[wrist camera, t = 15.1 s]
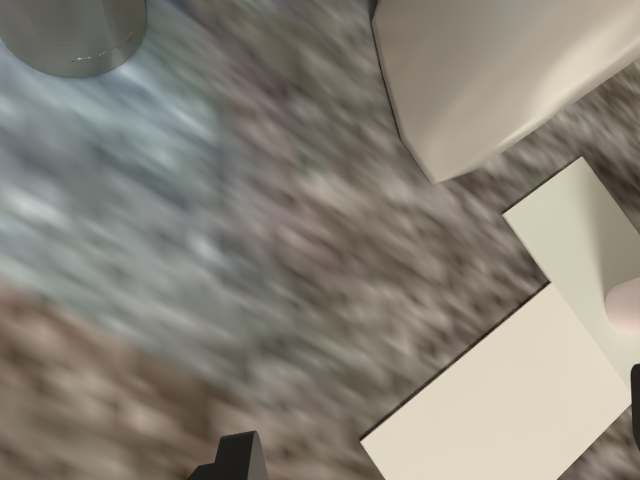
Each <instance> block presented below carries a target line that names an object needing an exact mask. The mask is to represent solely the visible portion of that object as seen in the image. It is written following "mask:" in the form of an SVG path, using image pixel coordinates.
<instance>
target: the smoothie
mask: <svg viewBox="0 0 640 480" xmlns="http://www.w3.org/2000/svg"><path fill="white" fill-rule="evenodd" d="M605 311H606V314H607V317H608V319H609V321H610V322H611V324H612V325H613V326H614V327H615V328H616V329H617V330H619V331H620V332H622V333H625V334H634V335H640V277H637V278H635V279H632V280H629V281H627V282H624V283H621V284H619V285H616V286H614V287H612V288H611V289H610V290H609V292H608V293H607V296H606V299H605Z"/></svg>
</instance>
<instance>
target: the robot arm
mask: <svg viewBox="0 0 640 480" xmlns="http://www.w3.org/2000/svg"><path fill="white" fill-rule="evenodd" d="M146 21H147V16H146V8H145V0H0V37H1V38H2V40H3V41H4V43H5V44H6V46H7V48H8V49H9V50H10V51H11V52H12V53H13V54H14V55H15V56H16V57H17V58H18V59H20V60H21V61H23V62H24V63H26V64H28V65H29V66H31V67H32V68H34V69H37V70H39V71H42V72H44V73H47V74H50V75H55V76H60V77H66V78H84V77H91V76H97V75H100V74H103V73H106V72H109V71H111V70H113V69H115V68H116V67H118V66H120V65H122V64H123V63H125V62H126V61H127V60H128V59H129V58H130V57H131V56H132V55H133V54H134V53H135V51H136V50H137V48H138V47H139V45H140V44H141V42H142V39H143V37H144V34H145V31H146ZM630 381H631V402H632V424H633V434H634V438H635V441H636V444H637V446H638V449H639V450H640V363H639V364H635V365H634V366H633V367H632V369H631V373H630ZM187 480H269V479H268V474H267V470H266V465H265V461H264V456H263V452H262V447H261V443H260V438H259V435H258V433H257V431H250V432H244V433H239V434H233V435H227V436H222V437H221V439H220V442H219V446H218V451H217V455H216V459H215V463H211V464H206V465H200V466H198V467H197V468H196V469H195V471H194V472H193V473H192V474H191V476H190V477H189V478H188V479H187Z"/></svg>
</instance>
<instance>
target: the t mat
mask: <svg viewBox="0 0 640 480" xmlns="http://www.w3.org/2000/svg"><path fill="white" fill-rule="evenodd" d="M502 215H503V217H504V218H505V220H506V221H507V222H508V224H509V225H510V227H511V228H512V229H513V231H514V232H515V234H516V235H517V236H518V238H519V239H520V241H521V242H522V243H523V245H524V246H525V248H526V249H527V250H528V252H529V253H530V255H531V256H532V257H533V259H534V260H535V262H536V263H537V264H538V266H539V267H540V269H541V270H542V271H543V273H544V274H545V276H546V277H547V278H548V280H549V281H550V283H549V284H548V285H547V286H546V287H545V288H543V289H542V290H541V291H540V292H539V293H537V294H536V295H535V296H534V297H533V298H531V299H530V300H529V301H528V302H527V303H525V304H524V305H523V306H522V307H521V308H519V309H518V310H517V311H516V312H515V313H513V314H512V315H511V316H510V317H509V318H507V319H506V320H505V321H504V322H503V323H501V324H500V325H499V326H498V327H497V328H495V329H494V330H493V331H492V332H491V333H489V334H488V335H487V336H486V337H485V338H483V339H482V340H481V341H480V342H479V343H477V344H476V345H475V346H474V347H473V348H471V349H470V350H469V351H468V352H467V353H465V354H464V355H463V356H462V357H461V358H459V359H458V360H457V361H456V362H455V363H453V364H452V365H451V366H450V367H449V368H447V369H446V370H445V371H444V372H443V373H441V374H440V375H439V376H438V377H437V378H435V379H434V380H433V381H432V382H431V383H429V384H428V385H427V386H426V387H425V388H423V389H422V390H421V391H420V392H419V393H417V394H416V395H415V396H414V397H413V398H411V399H410V400H409V401H408V402H407V403H405V404H404V405H403V406H402V407H401V408H399V409H398V410H397V411H396V412H395V413H393V414H392V415H391V416H390V417H389V418H387V419H386V420H385V421H384V422H383V423H381V424H380V425H379V426H378V427H377V428H375V429H374V430H373V431H372V432H371V433H369V434H368V435H367V436H366V437H365V438H363V439H362V440H361V441H360V443H361V444H362V446H363V447H364V449H365V450H366V452H367V453H368V455H369V456H370V458H371V459H372V461H373V462H374V463H375V465H376V466H377V468H378V469H379V471H380V472H381V474H382V475H383V477H384V478H385V480H556V479H557V478H558V477H559V476H560V475H561V474H562V473H563V472H564V471H565V470H566V469H567V468H568V467H569V466H570V465H571V464H572V463H573V462H574V461H575V460H576V459H577V458H578V457H579V456H580V455H581V454H582V453H583V452H584V451H585V450H586V449H587V448H588V447H589V446H590V445H591V444H592V443H593V442H594V441H595V440H596V439H597V438H598V437H599V436H600V435H601V434H602V433H603V431H604V430H605V429H606V428H607V427H608V426H609V425H610V424H611V423H612V422H613V421H614V420H615V419H616V418H617V417H618V416H619V415H620V414H621V413H622V412H623V411H624V410H625V409H626V408H627V407H628V406H629V405H630V404H631V403H632V402H631V381H630V373H631V369H632V367H633V366H634V365H635V364H639V363H640V335H634V334H625V333H622V332H620V331H619V330H617V329H616V328H615V327H614V326H613V325H612V324H611V322H610V321H609V319H608V317H607V314H606V311H605V299H606V296H607V293H608V292H609V290H610V289H611V288H612V287H614V286H616V285H619V284H621V283H624V282H627V281H629V280H632V279H635V278H637V277H640V235H639V233H638V232H637V230H636V229H635V228H634V226H633V225H632V224H631V222H630V221H629V220H628V218H627V217H626V215H625V214H624V213H623V211H622V210H621V209H620V207H619V206H618V204H617V203H616V202H615V200H614V199H613V198H612V196H611V195H610V194H609V192H608V191H607V189H606V188H605V187H604V185H603V184H602V183H601V181H600V180H599V179H598V177H597V176H596V174H595V173H594V172H593V170H592V169H591V168H590V166H589V165H588V164H587V162H586V161H585V159H584V158H583V157H582V156H581V157H580V158H578V159H577V160H576V161H574V162H573V163H572V164H570V165H569V166H568V167H566V168H565V169H563V170H562V171H561V172H559V173H558V174H557V175H555V176H554V177H553V178H551V179H550V180H549V181H547V182H546V183H544V184H543V185H542V186H540V187H539V188H538V189H536V190H535V191H534V192H532V193H531V194H530V195H528V196H527V197H526V198H524V199H523V200H521V201H520V202H519V203H517V204H516V205H515V206H513V207H512V208H511V209H509V210H508V211H507V212H505V213H504V214H502Z"/></svg>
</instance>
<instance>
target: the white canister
mask: <svg viewBox="0 0 640 480" xmlns="http://www.w3.org/2000/svg"><path fill="white" fill-rule="evenodd" d="M372 27H373V32H374V36H375V41H376V46H377V50H378V55H379V60H380V64H381V69H382V74H383V77H384V81H385V84H386V88H387V91H388V95H389V98H390V102H391V106H392V109H393V113H394V116H395V120H396V123H397V127H398V130H399V134H400V137H401V141H402V142H403V144H404V145H405V147H406V148H407V149H408V151H409V152H410V154H411V155H412V157H413V158H414V160H415V161H416V162H417V164H418V165H419V167H420V168H421V170H422V171H423V173H424V174H425V176H426V177H427V178H428V180H429V181H430V183H431V184H432V186H433V185H436V184H439V183H441V182H444V181H447V180H450V179H453V178H455V177H458V176H461V175H464V174H467V173H470V172H472V171H475V170H478V169H479V168H480V167H482V166H483V165H485V164H486V163H488V162H489V161H491V160H492V159H493V158H495V157H496V156H498V155H499V154H501V153H502V152H503V151H505V150H506V149H508V148H509V147H511V146H512V145H514V144H515V143H516V142H518V141H519V140H521V139H522V138H524V137H525V136H526V135H528V134H529V133H531V132H532V131H534V130H535V129H537V128H538V127H539V126H541V125H542V124H544V123H545V122H547V121H548V120H549V119H551V118H552V117H554V116H555V115H557V114H558V113H560V112H561V111H562V110H564V109H565V108H567V107H568V106H570V105H571V104H572V103H574V102H575V101H577V100H578V99H580V98H581V97H583V96H584V95H585V94H587V93H588V92H590V91H591V90H593V89H594V88H595V87H597V86H598V85H600V84H601V83H603V82H604V81H606V80H607V79H608V78H610V77H611V76H613V75H614V74H616V73H617V72H619V71H620V70H621V69H623V68H624V67H626V66H627V65H629V64H630V63H631V62H633V61H634V60H636V59H637V58H639V57H640V0H378V4H377V7H376V10H375V13H374V17H373V20H372Z"/></svg>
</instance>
